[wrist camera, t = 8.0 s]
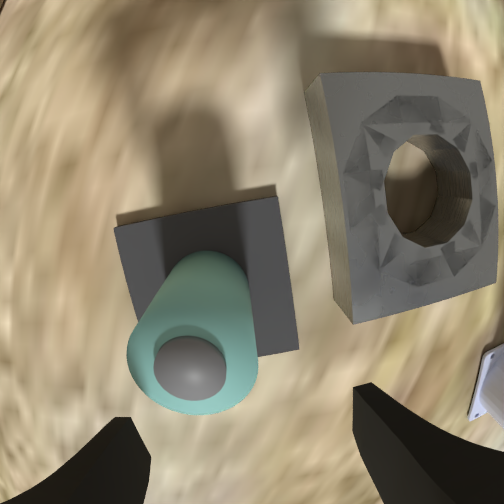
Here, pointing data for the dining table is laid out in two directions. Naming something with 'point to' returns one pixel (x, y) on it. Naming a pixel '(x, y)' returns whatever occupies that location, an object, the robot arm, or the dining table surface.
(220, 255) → the teal and grey cylinder
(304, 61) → the dining table surface
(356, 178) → the housing
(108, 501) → the robot arm
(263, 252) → the mat
